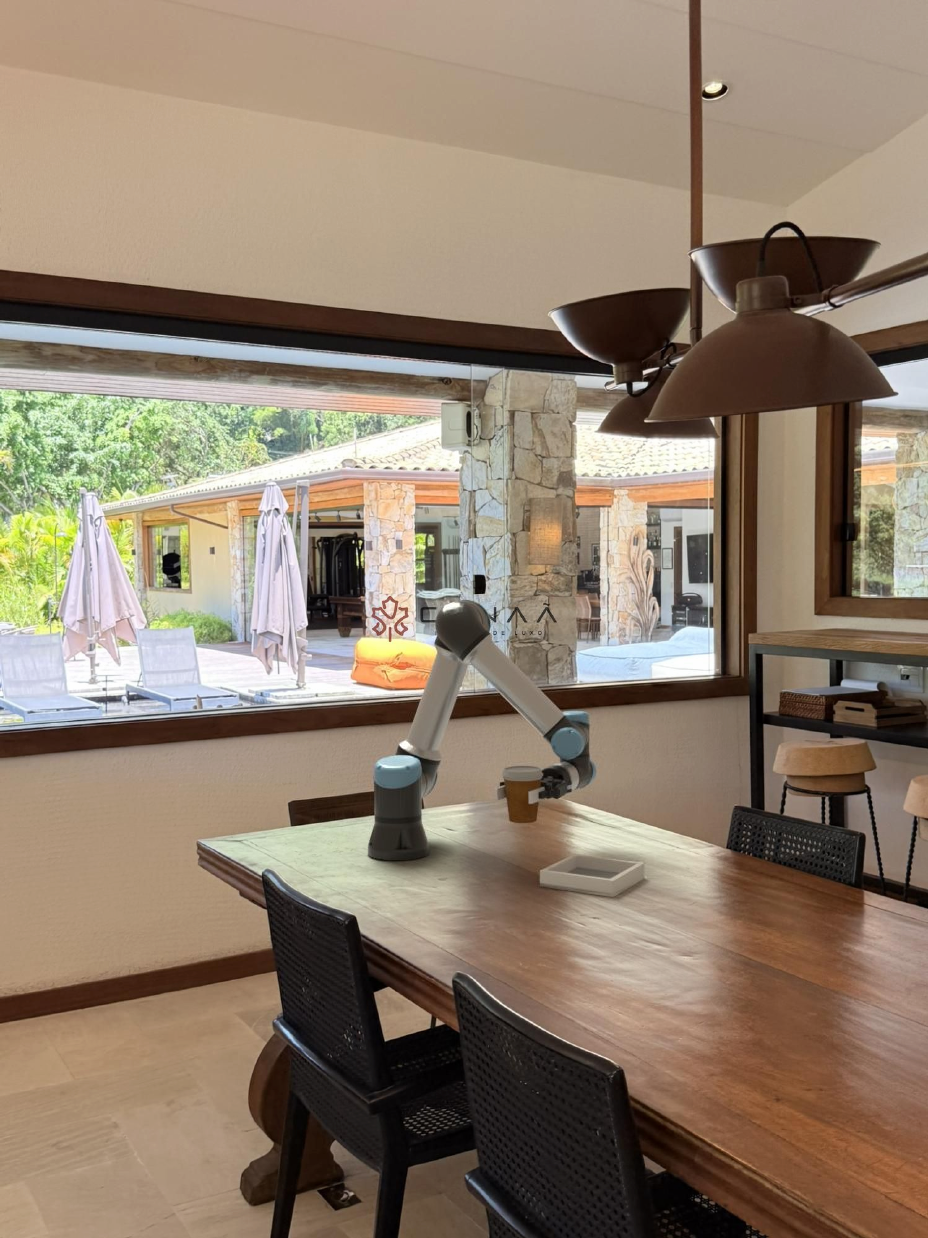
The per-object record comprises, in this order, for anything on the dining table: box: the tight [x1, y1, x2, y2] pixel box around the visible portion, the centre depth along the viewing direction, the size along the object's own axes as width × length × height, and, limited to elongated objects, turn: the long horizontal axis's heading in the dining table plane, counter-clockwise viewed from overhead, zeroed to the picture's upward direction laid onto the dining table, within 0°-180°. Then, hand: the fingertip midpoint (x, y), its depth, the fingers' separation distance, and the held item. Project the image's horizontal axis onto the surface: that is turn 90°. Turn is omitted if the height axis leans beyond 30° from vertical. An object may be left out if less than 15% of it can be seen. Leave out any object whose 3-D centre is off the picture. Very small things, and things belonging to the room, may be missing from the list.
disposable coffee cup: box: [501, 765, 543, 824], centre depth 266 cm, size 10×10×12 cm
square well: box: [539, 853, 646, 898], centre depth 257 cm, size 17×17×4 cm
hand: (512, 796), depth 262 cm, fingers closed on disposable coffee cup, 8 cm apart
